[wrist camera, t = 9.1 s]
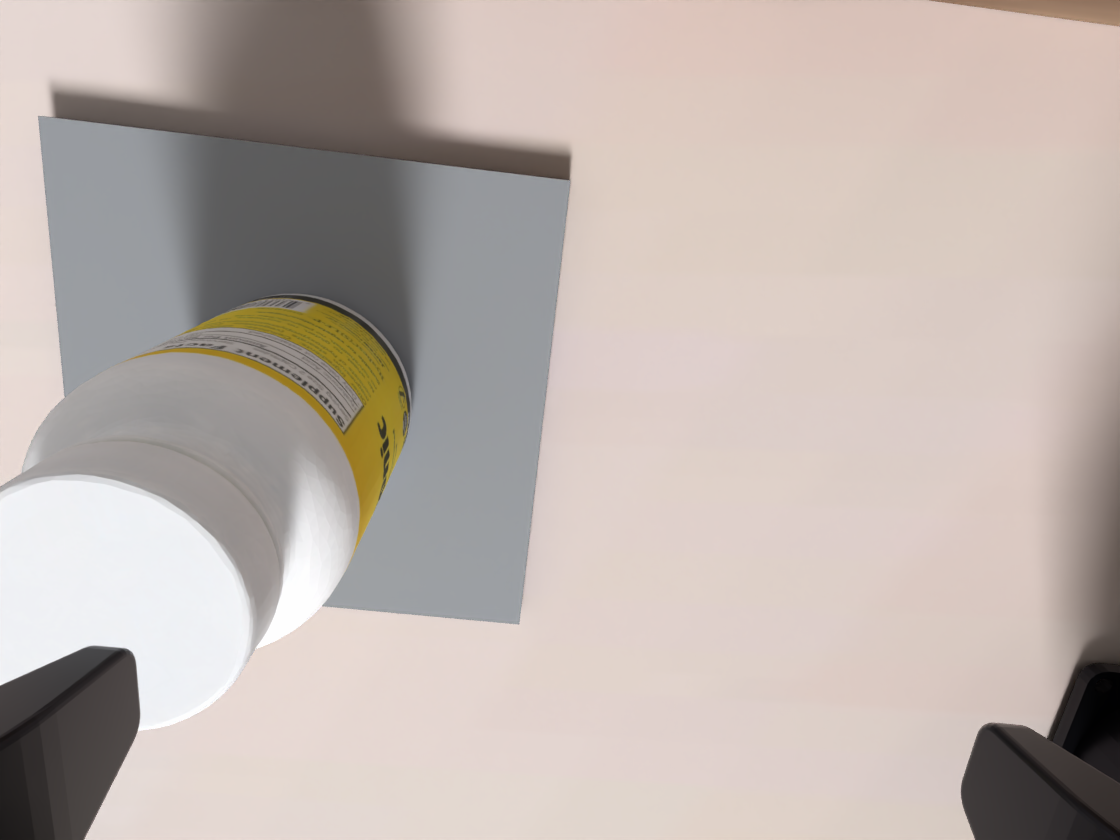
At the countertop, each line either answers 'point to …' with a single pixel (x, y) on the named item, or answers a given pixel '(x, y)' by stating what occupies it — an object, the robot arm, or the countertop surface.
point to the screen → (1055, 8)
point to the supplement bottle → (201, 497)
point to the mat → (356, 282)
